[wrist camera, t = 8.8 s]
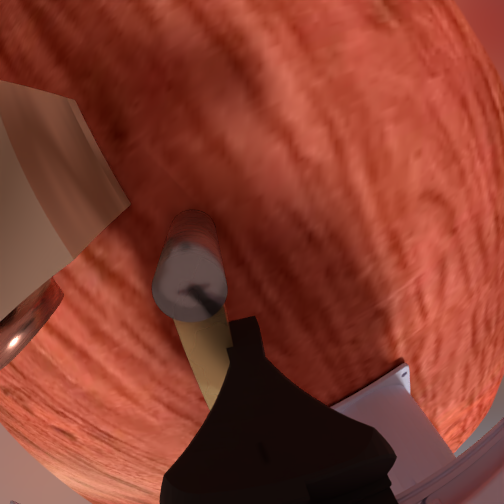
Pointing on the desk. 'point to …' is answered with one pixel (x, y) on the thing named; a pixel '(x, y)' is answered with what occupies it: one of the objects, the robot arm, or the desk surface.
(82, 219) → the hitch block
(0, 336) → the pin
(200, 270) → the bar
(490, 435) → the robot arm
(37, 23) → the desk surface
